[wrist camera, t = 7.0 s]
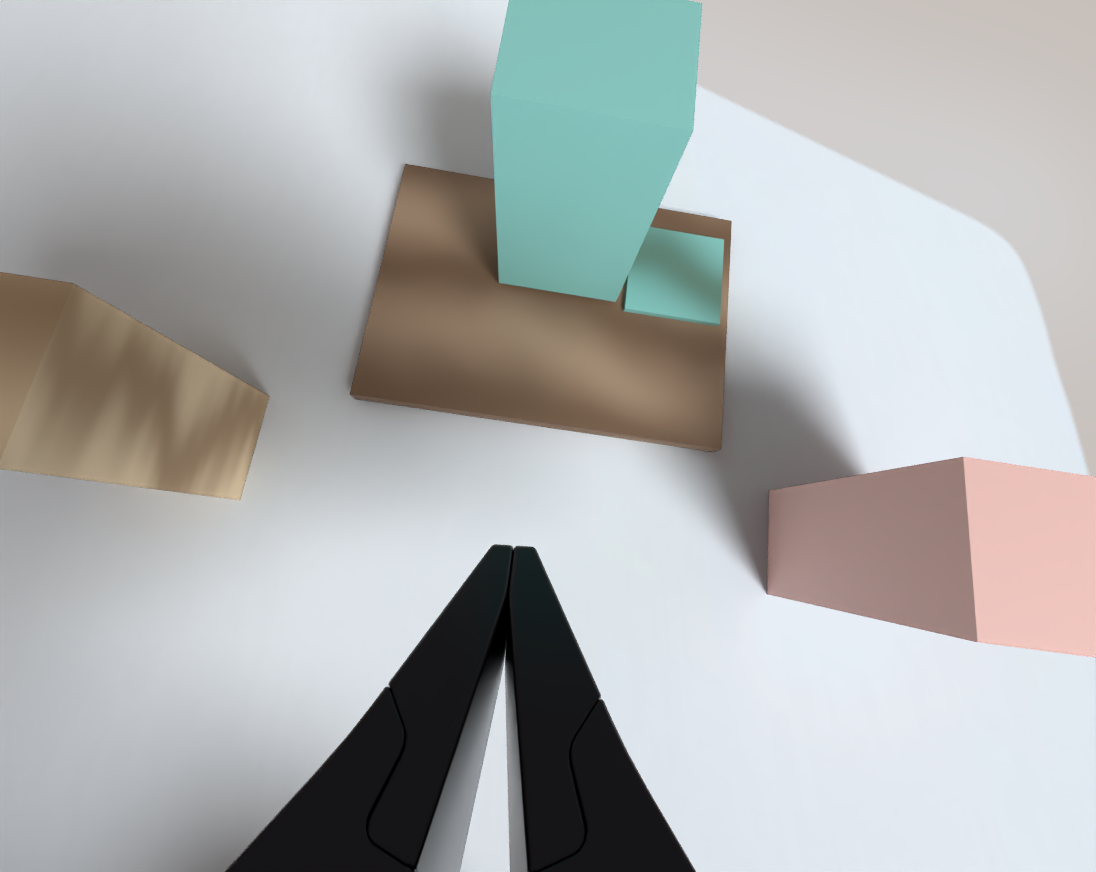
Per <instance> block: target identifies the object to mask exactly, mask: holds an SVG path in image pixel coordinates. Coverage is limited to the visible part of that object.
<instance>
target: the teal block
mask: <svg viewBox="0 0 1096 872" xmlns="http://www.w3.org/2000/svg"><path fill="white" fill-rule="evenodd" d="M701 13H702V3H698V2H693V1H688V0H509V3H508V8H507V13H506V18H505V23H504V28H503V33H502V38H501V43H500V48H499V53H498V58H497V63H496V68H495V73H494V78H493V83H492V88H491V93H490V94H491V116H492V139H493V161H494V183H495V205H496V228H497V250H498V272H499V283H503V284H509V285H515V286H522V287H528V288H534V289H540V290H546V291H552V292H558V293H564V294H571V295H577V296H583V297H589V298H595V299H601V300H607V301H613V302H616V300H617V298H618V296H619V294H620V292H621V289H622V287H623V285H624V283H625V280H626V278H627V276H628V274H629V272H630V269H631V267H632V265H633V263H634V261H635V258H636V256H637V254H638V252H639V249H640V247H641V245H642V243H643V241H644V238H645V236H646V234H647V232H648V230H649V227H650V225H651V223H652V221H653V219H654V216H655V214H656V212H657V210H658V207H659V205H660V203H661V201H662V199H663V196H664V194H665V192H666V190H667V188H668V185H669V183H670V181H671V179H672V176H673V174H674V172H675V170H676V168H677V165H678V163H679V161H680V159H681V157H682V154H683V152H684V150H685V148H686V146H687V143H688V141H689V139H690V137H691V134H692V132H693V126H694V112H695V98H696V84H697V70H698V56H699V42H700V27H701Z"/></svg>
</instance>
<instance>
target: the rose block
mask: <svg viewBox="0 0 1096 872" xmlns="http://www.w3.org/2000/svg"><path fill="white" fill-rule="evenodd" d="M767 594H769V595H773V596H778V597H782V598H786V599H791V600H795V601H800V602H804V603H808V604H813V605H817V606H821V607H826V608H830V609H835V610H839V611H843V612H848V613H852V614H856V615H861V616H865V617H870V618H874V619H878V620H883V621H887V622H891V623H896V624H900V625H905V626H909V627H913V628H918V629H922V630H926V631H931V632H935V633H939V634H944V635H948V636H953V637H957V638H961V639H966V640H970V641H974V642H980V643H987V644H995V645H1003V646H1011V647H1018V648H1026V649H1034V650H1041V651H1049V652H1057V653H1065V654H1072V655H1080V656H1088V657H1095V658H1096V477H1092V476H1086V475H1079V474H1073V473H1066V472H1060V471H1053V470H1046V469H1040V468H1033V467H1027V466H1020V465H1013V464H1007V463H1000V462H994V461H987V460H980V459H974V458H967V457H960V458H954V459H948V460H943V461H937V462H931V463H925V464H919V465H914V466H908V467H902V468H896V469H890V470H885V471H879V472H873V473H867V474H862V475H856V476H850V477H844V478H838V479H833V480H827V481H821V482H815V483H810V484H804V485H798V486H792V487H786V488H781V489H775V490H769V528H768V576H767Z"/></svg>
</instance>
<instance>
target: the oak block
mask: <svg viewBox="0 0 1096 872" xmlns="http://www.w3.org/2000/svg"><path fill="white" fill-rule="evenodd" d="M268 400H269V396H268V395H266V394H264V393H262V392H261V391H259V390H257V389H256V388H254V387H252V386H250V385H249V384H247V383H245V382H243V381H242V380H240V379H238V378H236V377H235V376H233V375H231V374H229V373H228V372H226V371H224V370H223V369H221V368H219V367H217V366H216V365H214V364H212V363H210V362H209V361H207V360H205V359H203V358H202V357H200V356H198V355H197V354H195V353H193V352H191V351H190V350H188V349H186V348H184V347H183V346H181V345H179V344H177V343H176V342H174V341H172V340H171V339H169V338H167V337H165V336H164V335H162V334H160V333H158V332H157V331H155V330H153V329H151V328H150V327H148V326H146V325H144V324H143V323H141V322H139V321H138V320H136V319H134V318H132V317H131V316H129V315H127V314H125V313H124V312H122V311H120V310H118V309H117V308H115V307H113V306H112V305H110V304H108V303H106V302H105V301H103V300H101V299H99V298H98V297H96V296H94V295H92V294H91V293H89V292H87V291H86V290H84V289H82V288H80V287H79V286H77V285H75V284H73V283H68V282H61V281H55V280H48V279H42V278H35V277H29V276H22V275H16V274H9V273H3V272H0V469H5V470H13V471H21V472H28V473H36V474H44V475H51V476H59V477H66V478H74V479H82V480H89V481H97V482H105V483H112V484H120V485H128V486H135V487H143V488H151V489H158V490H166V491H173V492H181V493H189V494H196V495H204V496H212V497H219V498H227V499H235V500H240V499H241V495H242V492H243V488H244V485H245V481H246V477H247V474H248V470H249V467H250V463H251V460H252V456H253V453H254V449H255V446H256V442H257V439H258V435H259V432H260V428H261V424H262V421H263V417H264V414H265V410H266V407H267V403H268Z"/></svg>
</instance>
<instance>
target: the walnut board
mask: <svg viewBox="0 0 1096 872" xmlns="http://www.w3.org/2000/svg"><path fill="white" fill-rule="evenodd" d="M731 223H732V221H729V220H723V219H717V218H711V217H706V216H700V215H694V214H689V213H683V212H677V211H671V210H666V209H660V208H658V210H657V212H656V214H655V216H654V219H653V221H652V223H651V225H650V227H649V230H648V232H647V234H646V236H645V238H644V241H643V243H642V245H641V247H640V249H639V252H638V254H637V256H636V258H635V261H634V263H633V265H632V267H631V269H630V272H629V274H628V276H627V278H626V280H625V283H624V285H623V287H622V289H621V292H620V294H619V296H618V298H617V300H616V302H613V301H607V300H601V299H595V298H589V297H583V296H577V295H571V294H564V293H558V292H552V291H546V290H540V289H534V288H528V287H522V286H515V285H509V284H503V283H499V272H498V250H497V228H496V205H495V183H494V179H488V178H483V177H477V176H471V175H466V174H460V173H454V172H448V171H443V170H437V169H431V168H426V167H420V166H414V165H408V164H405V168H404V172H403V176H402V181H401V185H400V189H399V193H398V197H397V201H396V205H395V209H394V214H393V218H392V222H391V226H390V230H389V234H388V238H387V243H386V247H385V251H384V255H383V259H382V263H381V267H380V272H379V276H378V280H377V284H376V288H375V292H374V296H373V300H372V305H371V309H370V313H369V317H368V321H367V325H366V329H365V334H364V338H363V342H362V346H361V350H360V354H359V358H358V363H357V367H356V371H355V375H354V379H353V383H352V387H351V391H350V395H352V396H353V397H354V398H355V399H359V400H365V401H372V402H379V403H386V404H392V405H399V406H406V407H413V408H419V409H426V410H433V411H440V412H446V413H453V414H460V415H467V416H474V417H480V418H487V419H494V420H501V421H507V422H514V423H521V424H528V425H534V426H541V427H548V428H555V429H562V430H568V431H575V432H582V433H589V434H595V435H602V436H609V437H616V438H622V439H629V440H636V441H643V442H650V443H656V444H663V445H670V446H677V447H683V448H690V449H697V450H704V451H710V452H715V451H718V450H720V449H721V441H722V419H723V397H724V375H725V353H726V332H727V310H728V288H729V266H730V244H731Z"/></svg>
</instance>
